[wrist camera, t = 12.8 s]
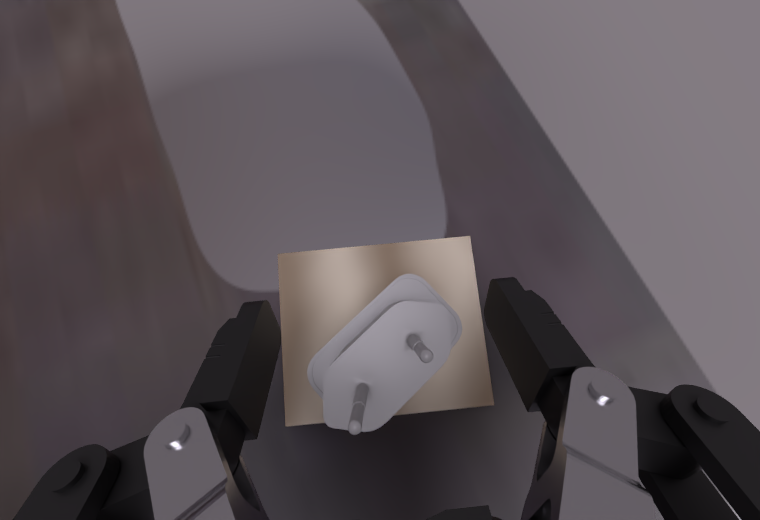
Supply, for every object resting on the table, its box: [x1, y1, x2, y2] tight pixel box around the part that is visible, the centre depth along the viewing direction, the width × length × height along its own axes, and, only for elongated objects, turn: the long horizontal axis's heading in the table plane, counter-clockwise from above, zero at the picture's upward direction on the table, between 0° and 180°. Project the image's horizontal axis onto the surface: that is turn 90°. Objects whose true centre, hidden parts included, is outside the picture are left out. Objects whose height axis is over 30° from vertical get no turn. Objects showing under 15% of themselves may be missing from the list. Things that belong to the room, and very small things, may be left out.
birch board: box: [278, 236, 494, 427], centre depth 18 cm, size 12×10×1 cm
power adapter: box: [307, 274, 462, 435], centre depth 11 cm, size 3×5×12 cm, turn 133°
